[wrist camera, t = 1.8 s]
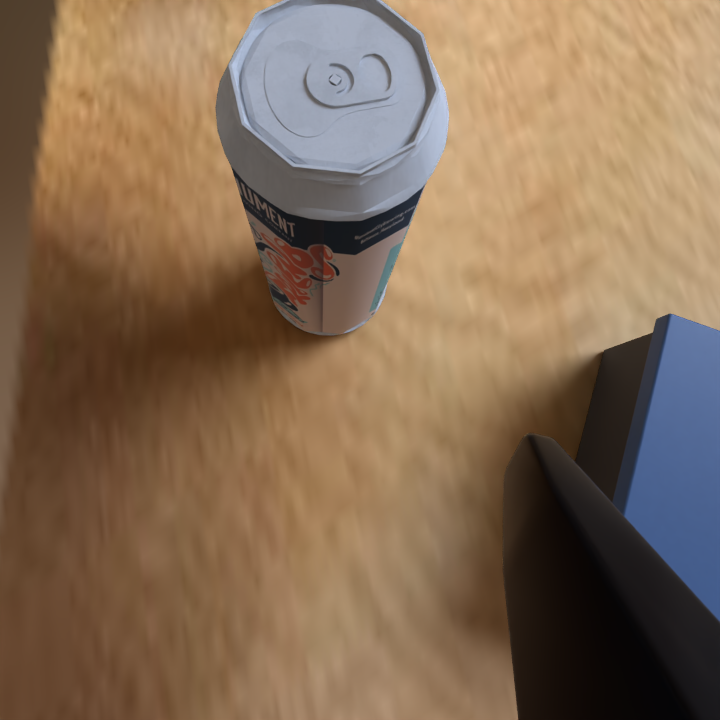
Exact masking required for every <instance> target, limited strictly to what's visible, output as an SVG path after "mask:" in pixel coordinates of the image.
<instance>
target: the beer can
mask: <svg viewBox="0 0 720 720" xmlns="http://www.w3.org/2000/svg"><path fill="white" fill-rule="evenodd" d="M216 117H217V128H218V133H219V136H220V139H221V143H222V146H223V149H224V152H225V155H226V157H227V159H228V161H229V163H230V165H231V167H232V170H233V173H234V177H235V180H236V183H237V186H238V189H239V192H240V196H241V199H242V202H243V205H244V208H245V211H246V215H247V218H248V221H249V224H250V227H251V230H252V234H253V237H254V240H255V243H256V246H257V249H258V252H259V256H260V259H261V262H262V265H263V268H264V271H265V275H266V278H267V281H268V284H269V290H270V293H271V296H272V299H273V302H274V304H275V306H276V308H277V309H278V311H279V312H280V313H281V314H282V315H283V317H284V318H286V319H287V320H288V321H289V322H291V323H292V324H293V325H295V326H296V327H298V328H300V329H302V330H304V331H306V332H309V333H313V334H317V335H330V336H332V335H339V334H343V333H347V332H350V331H353V330H354V329H356V328H358V327H360V326H362V325H363V324H364V323H366V322H367V321H368V320H369V319H370V318H371V317H373V315H374V314H375V313H376V311H377V310H378V308H379V306H380V304H381V302H382V300H383V298H384V296H385V291H386V287H387V282H388V280H389V277H390V275H391V272H392V269H393V267H394V264H395V262H396V259H397V257H398V254H399V252H400V249H401V246H402V244H403V241H404V239H405V236H406V234H407V231H408V229H409V226H410V223H411V221H412V218H413V216H414V213H415V211H416V208H417V205H418V203H419V200H420V198H421V195H422V193H423V190H424V188H425V185H426V182H427V180H428V179H429V178H430V176H431V175H432V173H433V172H434V169H435V167H436V165H437V163H438V161H439V159H440V157H441V155H442V153H443V151H444V148H445V144H446V140H447V131H448V121H449V110H448V104H447V98H446V93H445V90H444V87H443V85H442V83H441V80H440V78H439V76H438V73H437V71H436V68H435V66H434V64H433V62H432V59H431V57H430V54H429V51H428V48H427V45H426V41H425V38H424V34H423V33H422V32H420V31H419V30H418V29H417V28H415V27H414V26H413V25H412V24H410V23H409V22H408V21H407V20H405V19H404V18H403V17H402V16H400V15H399V14H398V13H397V12H395V11H394V10H393V9H392V8H390V7H389V6H388V5H387V4H385V3H384V2H383V1H382V0H283V1H281V2H279V3H277V4H274V5H272V6H270V7H268V8H266V9H264V10H261V11H259V12H257V13H256V14H255V16H254V18H253V20H252V21H251V23H250V25H249V27H248V29H247V31H246V33H245V35H244V36H243V38H242V39H241V41H240V43H239V45H238V47H237V49H236V51H235V52H234V54H233V56H232V58H231V60H230V62H229V64H228V66H227V68H226V70H225V72H224V74H223V76H222V78H221V80H220V83H219V88H218V93H217V101H216Z"/></svg>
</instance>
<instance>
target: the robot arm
mask: <svg viewBox="0 0 720 720" xmlns="http://www.w3.org/2000/svg"><path fill="white" fill-rule="evenodd" d="M503 575H504V587H505V596H506V606H507V616H508V625H509V635H510V644H511V654H512V663H513V673H514V682H515V692H516V701H517V711H518V720H720V621H719V620H718V619H717V618H716V617H715V616H714V614H713V613H712V612H711V611H710V610H709V609H708V608H707V607H706V606H705V605H704V603H703V602H702V601H701V600H700V599H699V598H698V597H697V596H696V595H695V594H694V592H693V591H692V590H691V589H690V588H689V587H688V586H687V585H686V584H685V583H684V581H683V580H682V579H681V578H680V577H679V576H678V575H677V574H676V573H675V572H674V570H673V569H672V568H671V567H670V566H669V565H668V564H667V563H666V562H665V561H664V559H663V558H662V557H661V556H660V555H659V554H658V553H657V552H656V551H655V549H654V548H653V547H652V546H651V545H650V544H649V543H648V542H647V541H646V540H645V538H644V537H643V536H642V535H641V534H640V533H639V532H638V531H637V530H636V529H635V527H634V526H633V525H632V524H631V523H630V522H629V521H628V520H627V519H626V518H625V516H624V515H623V514H622V513H621V512H620V511H619V510H618V509H617V508H616V507H615V505H614V504H613V503H612V502H611V501H610V500H609V499H608V498H607V497H606V496H605V494H604V493H603V492H602V491H601V490H600V489H599V488H598V487H597V486H596V485H595V483H594V482H593V481H592V480H591V479H590V478H589V477H588V476H587V475H586V474H585V472H584V471H583V470H582V469H581V468H580V467H579V466H578V465H577V464H576V463H575V461H574V460H573V459H572V458H571V457H570V456H569V455H568V454H567V453H566V452H565V450H564V449H563V448H562V447H561V446H560V445H559V444H558V443H557V442H556V441H555V440H554V439H553V438H551V437H547V436H543V435H539V434H534V433H528V434H526V435H525V436H524V437H523V438H522V440H521V442H520V444H519V445H518V447H517V449H516V451H515V453H514V455H513V457H512V458H511V460H510V462H509V464H508V466H507V468H506V471H505V475H504V493H503Z"/></svg>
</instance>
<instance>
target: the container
mask: <svg viewBox="0 0 720 720" xmlns="http://www.w3.org/2000/svg"><path fill="white" fill-rule="evenodd" d="M575 463H576V464H577V465H578V466H579V467H580V468H581V469H582V470H583V471H584V472H585V474H586V475H587V476H588V477H589V478H590V479H591V480H592V481H593V482H594V483H595V485H596V486H597V487H598V488H599V489H600V490H601V491H602V492H603V493H604V494H605V496H606V497H607V498H608V499H609V500H610V501H611V502H612V503H613V504H614V505H615V507H616V508H617V509H618V510H619V511H620V512H621V513H622V514H623V515H624V516H625V518H626V519H627V520H628V521H629V522H630V523H631V524H632V525H633V526H634V527H635V529H636V530H637V531H638V532H639V533H640V534H641V535H642V536H643V537H644V538H645V540H646V541H647V542H648V543H649V544H650V545H651V546H652V547H653V548H654V549H655V551H656V552H657V553H658V554H659V555H660V556H661V557H662V558H663V559H664V561H665V562H666V563H667V564H668V565H669V566H670V567H671V568H672V569H673V570H674V572H675V573H676V574H677V575H678V576H679V577H680V578H681V579H682V580H683V581H684V583H685V584H686V585H687V586H688V587H689V588H690V589H691V590H692V591H693V592H694V594H695V595H696V596H697V597H698V598H699V599H700V600H701V601H702V602H703V603H704V605H705V606H706V607H707V608H708V609H709V610H710V611H711V612H712V613H713V614H714V616H715V617H716V618H717V619H718V620H719V621H720V331H718V330H716V329H713V328H710V327H707V326H704V325H701V324H699V323H696V322H693V321H690V320H687V319H685V318H682V317H679V316H676V315H673V314H668V315H665V316H662V317H660V318H657V320H656V322H655V326H654V331H653V333H651V334H648V335H645V336H642V337H639V338H637V339H634V340H631V341H628V342H626V343H623V344H620V345H617V346H614V347H612V348H609V349H606V350H604V352H603V356H602V360H601V364H600V368H599V372H598V376H597V380H596V384H595V388H594V391H593V395H592V399H591V403H590V407H589V411H588V415H587V419H586V423H585V427H584V431H583V434H582V438H581V442H580V446H579V450H578V454H577V458H576V462H575Z"/></svg>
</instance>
